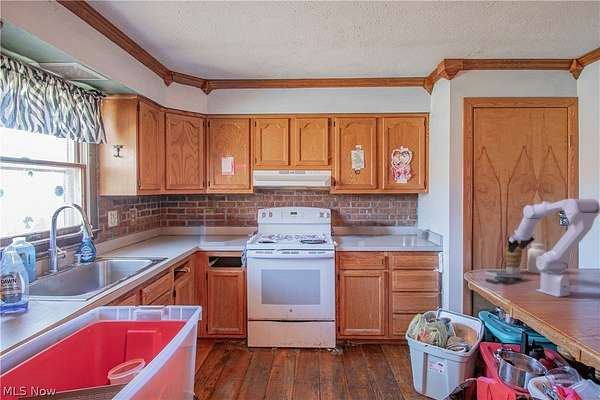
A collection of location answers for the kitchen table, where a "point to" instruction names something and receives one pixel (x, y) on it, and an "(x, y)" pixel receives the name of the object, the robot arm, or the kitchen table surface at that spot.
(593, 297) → the kitchen table surface
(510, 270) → the block
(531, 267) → the pill bottle
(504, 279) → the stand
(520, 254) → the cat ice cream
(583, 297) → the kitchen table surface
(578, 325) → the kitchen table surface
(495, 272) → the beam
